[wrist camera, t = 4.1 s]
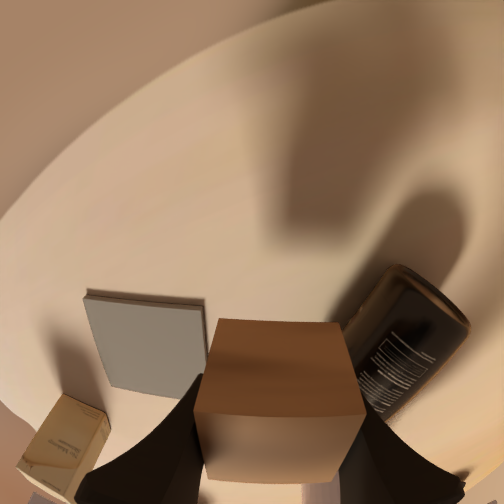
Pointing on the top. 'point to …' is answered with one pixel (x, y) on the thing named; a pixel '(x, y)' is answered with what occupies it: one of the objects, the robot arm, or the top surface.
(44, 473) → the skincare box
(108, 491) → the robot arm
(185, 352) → the slate mat
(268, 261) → the top surface
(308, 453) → the walnut cube
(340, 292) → the top surface
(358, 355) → the supplement bottle
